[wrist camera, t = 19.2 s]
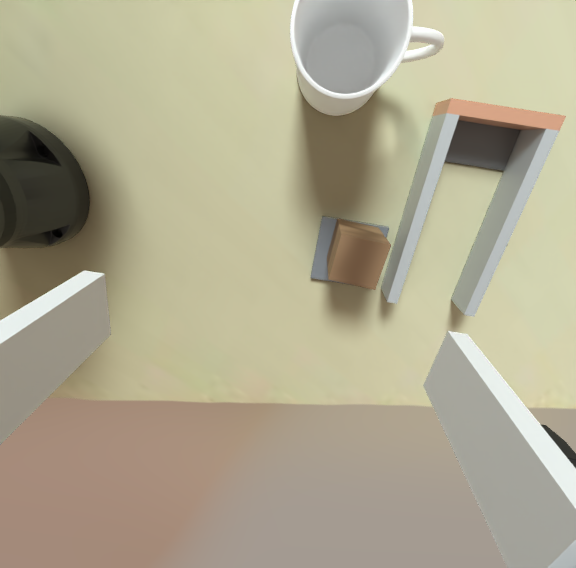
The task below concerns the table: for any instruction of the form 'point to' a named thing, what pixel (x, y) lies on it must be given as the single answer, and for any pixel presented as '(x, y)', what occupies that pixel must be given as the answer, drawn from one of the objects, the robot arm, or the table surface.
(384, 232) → the coaster
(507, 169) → the channel
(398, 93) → the table surface
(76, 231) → the robot arm
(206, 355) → the table surface
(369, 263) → the block
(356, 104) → the mug
